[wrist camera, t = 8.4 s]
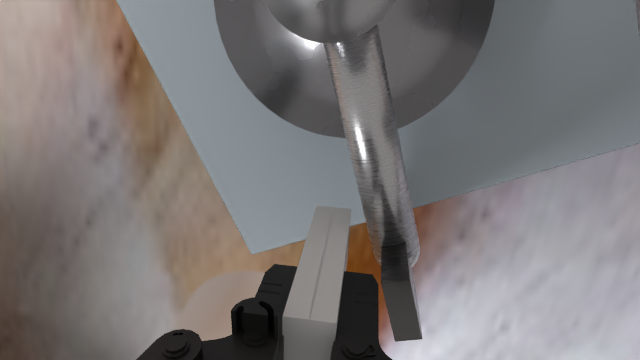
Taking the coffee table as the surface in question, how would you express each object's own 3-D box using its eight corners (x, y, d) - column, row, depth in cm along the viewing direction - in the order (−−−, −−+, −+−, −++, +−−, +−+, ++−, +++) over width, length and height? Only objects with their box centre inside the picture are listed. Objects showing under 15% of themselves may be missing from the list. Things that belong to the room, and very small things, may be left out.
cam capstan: (151, -251, 14) (-55, -482, 7) (445, -392, 12) (530, -901, 5) (303, 244, 21) (269, 352, 15) (505, 214, 19) (572, 325, 12)
